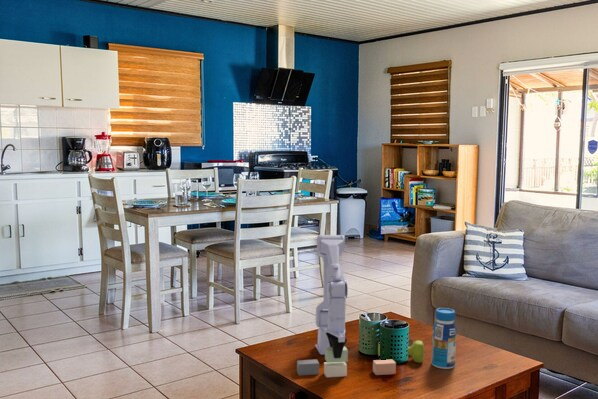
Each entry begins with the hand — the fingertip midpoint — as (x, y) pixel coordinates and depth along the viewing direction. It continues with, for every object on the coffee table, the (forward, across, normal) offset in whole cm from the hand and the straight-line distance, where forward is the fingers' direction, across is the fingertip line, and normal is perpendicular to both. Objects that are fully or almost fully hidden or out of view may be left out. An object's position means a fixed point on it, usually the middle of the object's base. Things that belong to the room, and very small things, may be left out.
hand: (335, 355), depth 200 cm
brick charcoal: (+7, -3, -9) cm, 12 cm away
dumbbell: (+7, -10, +27) cm, 29 cm away
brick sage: (+2, 0, 0) cm, 2 cm away
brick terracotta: (+7, +1, +17) cm, 18 cm away
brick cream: (+7, 0, 0) cm, 7 cm away
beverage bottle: (+7, -2, +40) cm, 41 cm away
